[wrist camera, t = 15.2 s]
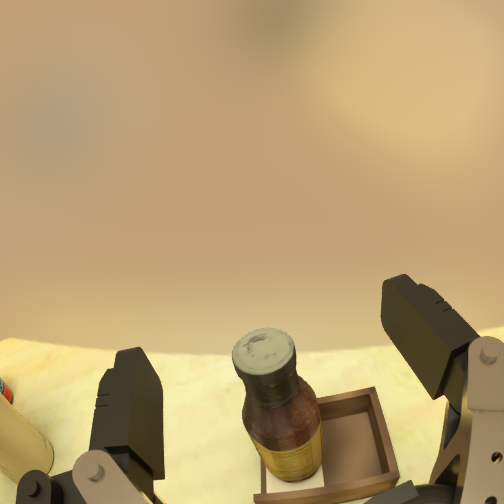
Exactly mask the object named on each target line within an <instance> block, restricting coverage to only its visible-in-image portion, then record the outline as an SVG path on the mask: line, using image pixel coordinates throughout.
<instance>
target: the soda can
mask: <svg viewBox="0 0 504 504" xmlns="http://www.w3.org/2000/svg"><path fill="white" fill-rule="evenodd" d="M0 393H1V394H2V395H3V396H4V397H5V398H6V399H7V401H8V402H9V403H10V401H11V397H12V394H11V391H10V389H9V388H8V386H7V385H6V384H5V383H4V382H3V381H2V379H1V378H0Z"/></svg>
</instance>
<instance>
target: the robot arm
mask: <svg viewBox="0 0 504 504" xmlns="http://www.w3.org/2000/svg"><path fill="white" fill-rule="evenodd" d="M381 321H382V325H383V328H384V330H385V332H386V333H387V335H388V336H389V337H390V339H391V340H392V342H393V343H394V345H395V346H396V347H397V349H398V350H399V352H400V353H401V354H402V356H403V357H404V359H405V360H406V361H407V363H408V364H409V366H410V367H411V369H412V370H413V372H414V373H415V374H416V376H417V377H418V379H419V380H420V382H421V383H422V385H423V386H424V388H425V389H426V390H427V392H428V393H429V395H430V396H431V398H432V399H433V400H435V399H437V398H439V397H441V396H442V395H445V396H446V398H447V399H448V401H447V403H446V409H445V417H444V425H443V431H442V438H441V444H440V450H439V454H438V457H437V460H436V463H435V465H434V468H433V470H432V474H431V477H430V481H429V484H423V485H416V486H414V485H413V483H412V481H411V480H409V481H407V482H405V483H403V484H401V485H399V486H397V487H394V488H392V489H390V490H388V491H385V492H383V493H381V494H378V495H376V496H374V497H372V498H371V499H369V500H368V501H367V502H365V503H364V504H504V343H503V342H502V341H500V340H499V339H497V338H494V337H490V336H484V337H480V336H479V335H478V334H477V333H476V332H475V330H474V329H473V328H472V327H471V326H470V325H469V324H468V323H467V322H466V321H465V320H464V319H463V318H462V317H461V316H460V315H459V314H458V313H457V312H456V311H455V310H454V309H452V307H451V306H450V305H449V304H448V303H447V302H446V301H444V299H443V298H442V297H441V296H440V295H439V294H438V293H437V292H436V291H435V290H434V289H432V288H429V287H428V286H426V285H423V284H419V285H417V284H416V283H415V282H414V281H413V280H412V279H411V278H410V277H409V276H408V275H406V274H402V275H399V276H396V277H393V278H390V279H387V280H385V281H384V282H383V286H382V303H381ZM97 396H98V398H97V399H96V405H95V407H96V409H95V411H94V417H93V424H92V430H91V438H90V445H89V451H88V452H86V453H84V454H82V455H81V456H80V457H79V458H78V459H77V461H76V462H75V464H74V466H73V470H70V471H67V472H64V473H62V474H58V475H55V476H52V477H50V476H48V475H47V473H48V472H49V470H50V468H51V466H52V462H53V449H52V446H51V444H50V443H49V442H48V441H47V440H46V439H45V438H44V437H43V436H42V435H41V434H40V433H39V432H38V431H37V430H36V429H35V428H34V427H33V426H32V425H31V424H30V423H29V422H28V421H27V420H26V419H25V418H24V417H23V416H22V415H21V414H20V413H19V412H18V411H17V410H16V409H15V408H14V407H13V406H12V405H11V404H10V403H9V402H8V401H7V399H6V398H5V397H4V396H3V395H2V394H1V393H0V472H2V473H3V474H4V475H6V476H7V477H8V478H10V479H11V480H13V481H14V482H15V483H17V484H18V488H17V496H16V504H166V503H165V502H164V501H163V500H162V499H161V498H160V497H159V496H158V495H157V493H156V492H155V491H154V488H153V480H162V479H165V469H164V438H163V389H162V385H161V381H160V379H159V377H158V375H157V373H156V372H155V370H154V368H153V367H152V365H151V363H150V362H149V360H148V358H147V356H146V355H145V353H144V351H143V350H142V348H140V347H136V348H131V349H126V350H121V351H118V352H117V353H116V357H115V363H114V368H111V369H107V371H106V372H105V374H104V375H103V377H102V379H101V380H100V382H99V388H98V393H97Z"/></svg>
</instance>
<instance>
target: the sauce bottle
mask: <svg viewBox="0 0 504 504" xmlns="http://www.w3.org/2000/svg"><path fill="white" fill-rule="evenodd" d="M232 360H233V364H234V367H235V370H236V372H237V374H238V376H239V378H241V379H242V380H243V382H244V385H245V390H246V397H245V402H244V406H243V410H242V419H243V423H244V426H245V428H246V430H247V432H248V434H249V436H250V438H251V440H252V442H253V444H254V446H255V447H256V450H257V451H258V453H259V455H260V457H261V458H262V460H263V462H264V464H265V466H266V467H267V469H268V471H269V472H270V473H271V474H272V475H274V476H275V477H277V478H278V479H280V480H282V481H285V482H288V483H292V482H300V481H303V480H306V479H309V478H311V477H312V476H313V475H314V474H315V473H316V472H317V471H318V469H319V467H320V465H321V463H322V460H323V442H322V431H321V420H320V412H319V409H318V403H317V399H316V395H315V393H314V391H313V389H312V388H311V386H309V384H308V383H307V382H306V381H304V380H303V378H301V377H300V376H298V374H297V371H296V350H295V346H294V342H293V340H292V338H291V337H290V336H289V335H287V334H286V333H285V332H283V331H282V330H279V329H274V328H262V329H257V330H254V331H252V332H250V333H248V334H246V335H245V336H244V337H242V338H241V339H240V340H239V341H238V342H237V343H236V345H235V346H234V348H233V351H232Z"/></svg>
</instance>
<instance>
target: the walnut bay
mask: <svg viewBox="0 0 504 504" xmlns="http://www.w3.org/2000/svg"><path fill="white" fill-rule="evenodd" d="M316 399H317V403H318V409H319V412H320V420H321V431H322V442H323V460H322V463H321V465H320V467H319V469H318V471H317V472H316V473H315V474H314V475H313V476H312V477H311V478H309V479H306V480H303V481H300V482H292V483H288V482H285V481H282V480H280V479H278V478H277V477H275V476H274V475H272V474H271V473H270V472H269V471H268V469H267V467H266V466H265V464H264V462H263V460H262V458H261V494H254V502H255V504H339V503H344V502H349V501H354V500H359V499H363V498H367V497H372V496H376V495H378V494H381V493H383V492H385V491H388V490H390V489H392V488H394V487H395V485H396V483H397V482H398V480H399V478H400V474H399V470H398V466H397V462H396V459H395V455H394V451H393V447H392V444H391V440H390V436H389V433H388V429H387V426H386V422H385V419H384V415H383V412H382V409H381V405H380V402H379V399H378V395H377V392H376V389H375V386H374V387H370V388H365V389H361V390H356V391H352V392H347V393H342V394H337V395H332V396H326V397H321V398H316Z"/></svg>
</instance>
